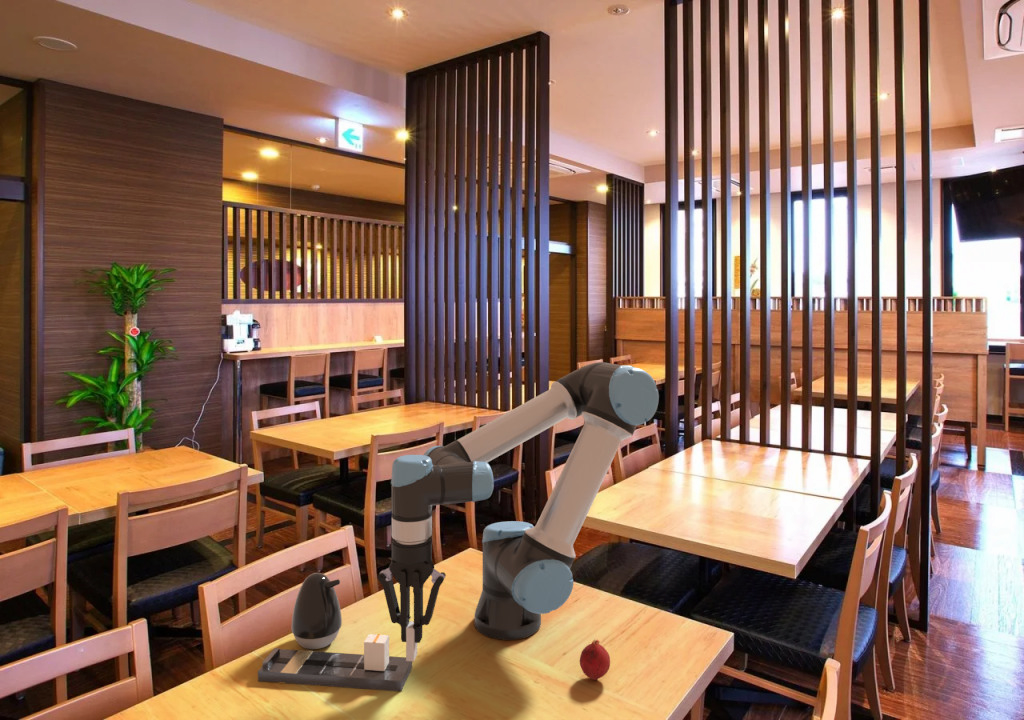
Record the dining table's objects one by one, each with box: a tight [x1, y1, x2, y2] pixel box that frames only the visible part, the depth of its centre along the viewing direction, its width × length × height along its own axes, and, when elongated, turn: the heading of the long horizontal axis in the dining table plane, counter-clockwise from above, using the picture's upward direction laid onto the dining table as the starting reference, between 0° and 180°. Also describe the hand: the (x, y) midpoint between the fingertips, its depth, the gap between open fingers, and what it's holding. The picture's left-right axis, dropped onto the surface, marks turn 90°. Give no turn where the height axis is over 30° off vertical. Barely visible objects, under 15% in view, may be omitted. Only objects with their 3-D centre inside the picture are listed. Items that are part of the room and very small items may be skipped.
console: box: [257, 647, 413, 692], centre depth 124 cm, size 28×8×3 cm, turn 84°
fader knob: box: [363, 633, 390, 671], centre depth 123 cm, size 4×3×6 cm
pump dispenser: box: [291, 572, 343, 650], centre depth 135 cm, size 10×10×15 cm
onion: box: [579, 638, 611, 681], centre depth 123 cm, size 6×6×8 cm
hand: (411, 657), depth 122 cm, fingers closed
